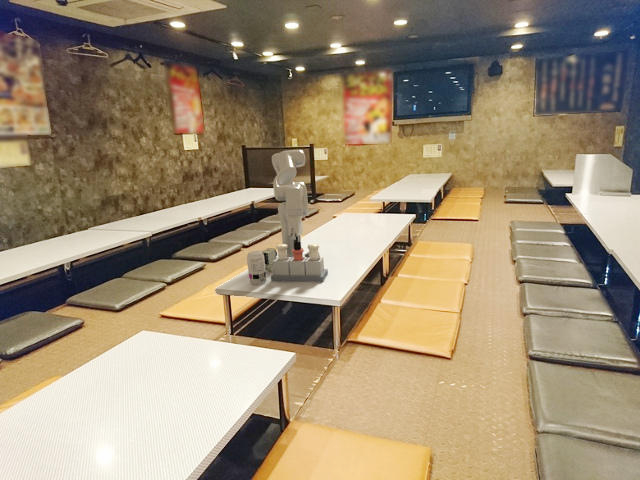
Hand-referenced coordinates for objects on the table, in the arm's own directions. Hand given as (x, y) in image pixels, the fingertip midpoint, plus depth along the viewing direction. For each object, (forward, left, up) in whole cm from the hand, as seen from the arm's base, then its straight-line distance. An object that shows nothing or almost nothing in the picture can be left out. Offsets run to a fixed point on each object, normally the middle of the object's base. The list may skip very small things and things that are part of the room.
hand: (297, 249), depth 206 cm
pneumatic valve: (-11, -20, -15) cm, 27 cm away
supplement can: (+8, -19, -15) cm, 25 cm away
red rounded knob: (0, 0, -8) cm, 8 cm away
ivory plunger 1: (0, -8, -6) cm, 10 cm away
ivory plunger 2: (0, +8, -6) cm, 10 cm away
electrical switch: (-18, +3, -15) cm, 24 cm away
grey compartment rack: (0, 0, -15) cm, 15 cm away
